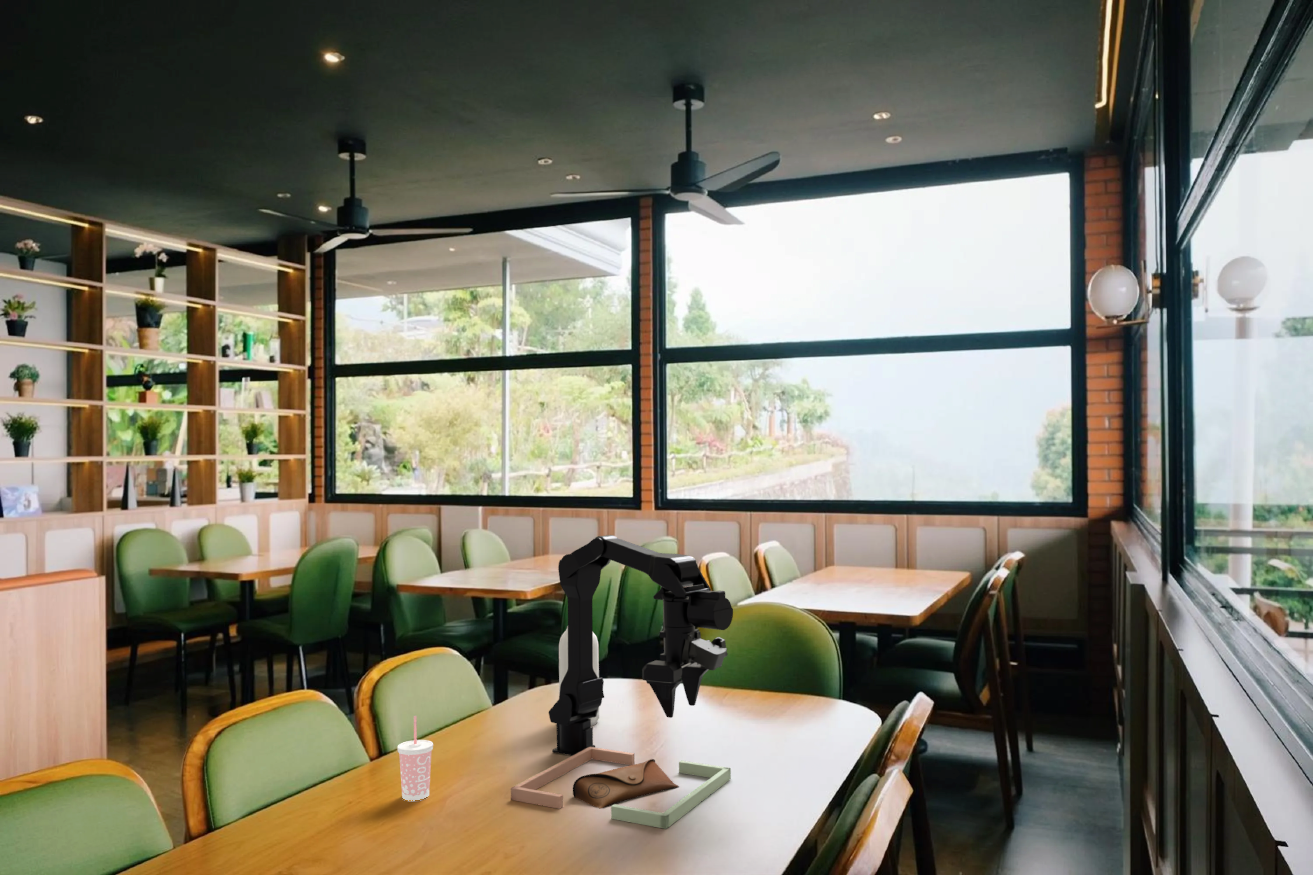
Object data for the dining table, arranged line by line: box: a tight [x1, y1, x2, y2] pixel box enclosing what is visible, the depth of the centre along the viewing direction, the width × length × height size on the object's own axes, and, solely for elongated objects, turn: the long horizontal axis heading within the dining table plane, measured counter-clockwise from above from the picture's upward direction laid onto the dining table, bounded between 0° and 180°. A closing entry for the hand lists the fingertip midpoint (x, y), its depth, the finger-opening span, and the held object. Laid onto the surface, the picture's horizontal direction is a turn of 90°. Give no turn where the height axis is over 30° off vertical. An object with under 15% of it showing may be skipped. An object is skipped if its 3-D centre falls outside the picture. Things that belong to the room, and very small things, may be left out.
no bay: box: [510, 746, 636, 810], centre depth 174 cm, size 10×26×2 cm, turn 153°
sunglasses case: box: [572, 758, 679, 809], centre depth 168 cm, size 18×7×7 cm
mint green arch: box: [610, 760, 732, 830], centre depth 164 cm, size 10×26×2 cm, turn 152°
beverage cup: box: [397, 715, 434, 802], centre depth 167 cm, size 6×6×14 cm
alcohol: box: [558, 625, 600, 727], centre depth 213 cm, size 9×9×30 cm
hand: (681, 711), depth 174 cm, fingers open, 9 cm apart
